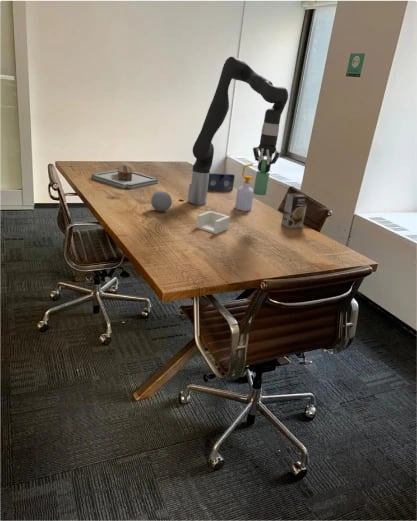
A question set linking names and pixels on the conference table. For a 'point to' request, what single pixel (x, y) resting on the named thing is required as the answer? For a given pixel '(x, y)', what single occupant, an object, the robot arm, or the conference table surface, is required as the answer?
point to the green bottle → (261, 180)
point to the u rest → (212, 222)
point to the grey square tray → (124, 178)
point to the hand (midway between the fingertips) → (263, 171)
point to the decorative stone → (161, 201)
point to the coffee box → (294, 210)
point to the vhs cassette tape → (221, 182)
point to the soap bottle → (244, 194)
